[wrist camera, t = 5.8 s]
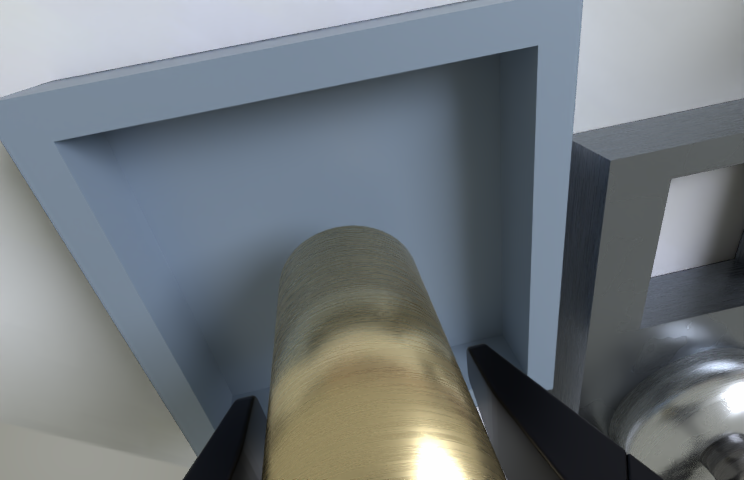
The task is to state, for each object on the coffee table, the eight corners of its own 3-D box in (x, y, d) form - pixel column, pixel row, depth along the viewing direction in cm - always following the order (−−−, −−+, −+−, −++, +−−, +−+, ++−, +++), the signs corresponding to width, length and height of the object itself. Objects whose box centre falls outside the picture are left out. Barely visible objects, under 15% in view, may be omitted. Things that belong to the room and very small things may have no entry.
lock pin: (447, 335, 14) (643, 795, 6) (282, 372, 14) (250, 900, 6) (432, 182, 11) (762, 648, 3) (226, 225, 11) (7, 844, 3)
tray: (517, 334, 18) (552, 388, 16) (219, 401, 18) (205, 469, 15) (522, -10, 12) (583, -13, 9) (52, 80, 11) (-22, 104, 9)
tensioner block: (715, 415, 24) (819, 519, 19) (542, 456, 23) (603, 573, 18) (844, 77, 15) (1106, 115, 10) (563, 136, 14) (695, 204, 9)
